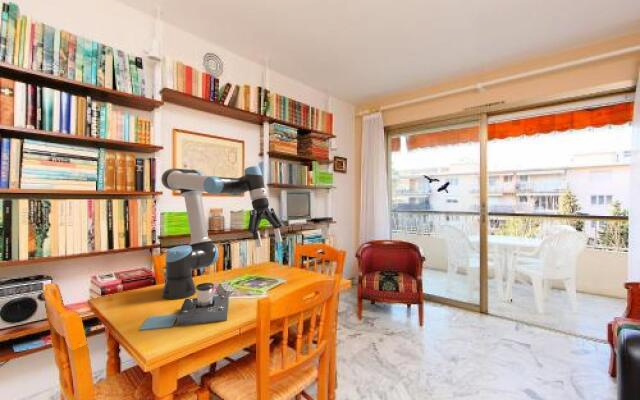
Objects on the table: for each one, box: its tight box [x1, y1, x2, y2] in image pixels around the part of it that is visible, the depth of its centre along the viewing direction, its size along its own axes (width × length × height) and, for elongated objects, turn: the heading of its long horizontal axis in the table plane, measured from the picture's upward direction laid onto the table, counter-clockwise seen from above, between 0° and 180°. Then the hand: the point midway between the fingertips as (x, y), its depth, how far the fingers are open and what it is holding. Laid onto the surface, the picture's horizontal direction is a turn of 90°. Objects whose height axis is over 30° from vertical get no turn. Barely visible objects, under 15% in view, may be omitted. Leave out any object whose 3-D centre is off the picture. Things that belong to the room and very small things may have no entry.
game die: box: [214, 280, 235, 297], centre depth 139 cm, size 9×8×10 cm
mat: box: [139, 313, 178, 331], centre depth 113 cm, size 11×11×1 cm
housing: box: [176, 295, 230, 327], centre depth 121 cm, size 18×18×5 cm
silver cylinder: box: [195, 282, 215, 308], centre depth 121 cm, size 7×7×12 cm
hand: (269, 244), depth 132 cm, fingers open, 13 cm apart
